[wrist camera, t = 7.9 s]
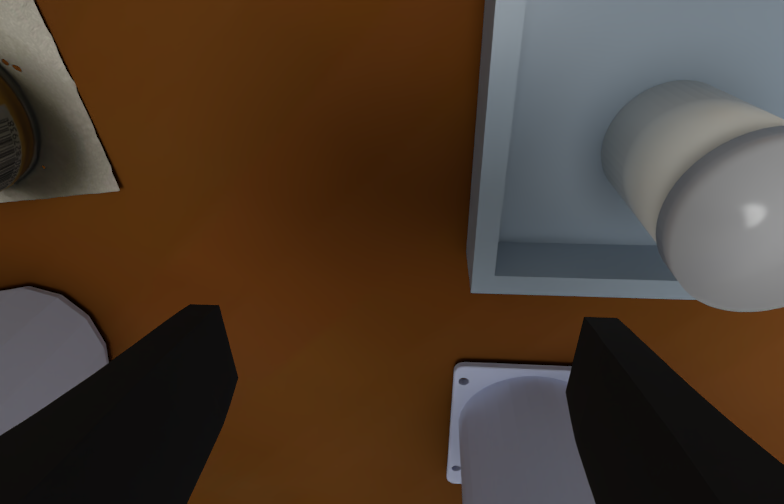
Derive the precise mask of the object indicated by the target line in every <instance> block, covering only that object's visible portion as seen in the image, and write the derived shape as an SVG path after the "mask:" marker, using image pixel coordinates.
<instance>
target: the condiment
mask: <svg viewBox="0 0 784 504" xmlns="http://www.w3.org/2000/svg"><path fill="white" fill-rule="evenodd" d="M1 59H5V60H6V61H7V62H8V63H9V65H8V66H7V65H5V64H4V63H3V62H2V60H1ZM13 64H14V65H16V66H18V67H20V68H21V70H22V72H20V71H17V70H15V69H14V68H13V67H12V65H13ZM42 166H45V167H46V168H45V169H43V168H42ZM113 191H120V190H119V187H118V185H117V182H116V180H115V178H114V176H113V174H112V169H111V165H110V163H109V162H108V160H107V157H106V155H105V152H104V150H103V148H102V145H101V143H100V141H99V139H98V138H97V135H96V132H95V129H94V127H93V124H92V122H91V120H90V118H89V116H88V114H87V111H86V109H85V107H84V105H83V103H82V101H81V99H80V97H79V95H78V92H77V89H76V85H75V82H74V81H73V80H72V79H71V77H70V75H69V73H68V72H67V70H66V68H65V66H64V64H63V62H62V60H61V58H60V56H59V53H58V50H57V48H56V45H55V43H54V41H53V38H52V36H51V34H50V33H49V31H48V30H47V28H46V26H45V24H44V22H43V20H42V18H41V16H40V13H39V11H38V9H37V7H36V5H35V3H34V1H33V0H0V203H2V202H11V201H20V200H35V199H49V198H54V197H63V196H71V195H81V194H94V193H104V192H113Z"/></svg>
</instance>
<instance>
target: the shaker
mask: <svg viewBox="0 0 784 504" xmlns="http://www.w3.org/2000/svg"><path fill="white" fill-rule="evenodd" d="M601 162H602V167H603V171H604V173H605V175H606V177H607V179H608V181H609V182H610V183H611V185H612V186H613V187H614V189H615V190H616V191H617V193H618V194H619V195H620V196H621V198H622V199H623V200H624V202H625V203H626V204H627V206H628V207H629V208H630V209H631V211H632V212H633V213H634V215H635V216H636V217H637V218H638V220H639V221H640V222H641V224H642V225H643V226H644V228H645V229H646V230H647V231H648V233H649V234H650V235H651V237H652V238H653V239H654V241H655V242H656V244H657V248H658V251H659V254H660V256H661V258H662V260H663V262H664V263H665V264H666V266H667V267H668V268H669V270H670V271H671V272H672V274H673V275H674V276H675V278H676V279H677V280H678V282H679V283H680V284H681V286H682V287H683V289H684V290H685V291H687V292H688V293H689V294H690V295H691V296H692V297H694V298H695V299H697V300H698V301H700V302H702V303H704V304H706V305H708V306H711V307H714V308H717V309H722V310H727V311H736V312H757V311H766V310H772V309H777V308H781V307H784V119H782V118H780V117H778V116H775V115H773V114H771V113H769V112H767V111H765V110H763V109H760V108H758V107H756V106H754V105H752V104H750V103H747V102H745V101H743V100H741V99H739V98H737V97H735V96H732V95H730V94H728V93H726V92H724V91H722V90H719V89H717V88H715V87H713V86H711V85H708V84H706V83H703V82H699V81H693V80H677V81H671V82H666V83H663V84H660V85H657V86H654V87H652V88H650V89H648V90H646V91H644V92H642V93H641V94H639V95H638V96H636V97H635V98H633V99H632V100H631V101H630V102H629V103H627V104H626V105H625V106H624V107H623V108H622V109H621V110H620V111H619V113H618V114H617V115H616V116H615V118H614V119H613V121H612V122H611V124H610V126H609V127H608V129H607V132H606V134H605V136H604V140H603V143H602V149H601Z"/></svg>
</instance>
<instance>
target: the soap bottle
mask: <svg viewBox="0 0 784 504" xmlns="http://www.w3.org/2000/svg"><path fill="white" fill-rule="evenodd" d="M108 363H109V361H108V355H107V348H106V343H105V341H104V340H103V338H102V336H101V335H100V333H99V332H98V330H97V328H96V327H95V325H94V323H93V322H92V320H91V318H90V317H89V315H88V314H86V313H85V312H84V311H82V310H81V309H80V308H78V307H77V306H76V305H74V304H73V303H72V302H71V301H69V300H68V299H67V298H65V297H64V296H63V295H61V294H57V293H53V292H50V291H46V290H42V289H38V288H35V287H31V286H26V287H20V288H14V289H8V290H2V291H0V435H2V434H3V433H5V432H7V431H8V430H10V429H11V428H13V427H15V426H16V425H18V424H19V423H21V422H23V421H24V420H26V419H27V418H29V417H30V416H32V415H34V414H35V413H37V412H38V411H39V410H41V409H42V408H44V407H45V406H47V405H48V404H50V403H51V402H53V401H54V400H56V399H57V398H59V397H60V396H62V395H63V394H65V393H66V392H68V391H69V390H71V389H72V388H73V387H75V386H76V385H78V384H79V383H81V382H82V381H84V380H85V379H87V378H88V377H90V376H91V375H93V374H94V373H95V372H97V371H98V370H100V369H101V368H102V367H104V366H105V365H106V364H108Z"/></svg>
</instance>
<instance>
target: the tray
mask: <svg viewBox="0 0 784 504" xmlns="http://www.w3.org/2000/svg"><path fill="white" fill-rule="evenodd" d="M677 80H693V81H699V82H703V83H706V84H708V85H711V86H713V87H715V88H717V89H719V90H722V91H724V92H726V93H728V94H730V95H732V96H735V97H737V98H739V99H741V100H743V101H745V102H747V103H750V104H752V105H754V106H756V107H758V108H760V109H763V110H765V111H767V112H769V113H771V114H773V115H775V116H778V117H780V118H782V119H784V0H485V7H484V21H483V34H482V47H481V61H480V74H479V87H478V101H477V114H476V127H475V141H474V154H473V167H472V181H471V194H470V207H469V221H468V234H467V247H466V255H467V263H468V272H469V281H470V290H471V293H488V294H521V295H554V296H587V297H620V298H653V299H686V300H697V299H695V298H694V297H692V296H691V295H690V294H689V293H688V292H687V291H685V290H684V289H683V287H682V286H681V284H680V283H679V282H678V280H677V279H676V278H675V276H674V275H673V274H672V272H671V271H670V270H669V268H668V267H667V266H666V264H665V263H664V262H663V260H662V258H661V256H660V254H659V251H658V248H657V244H656V242H655V241H654V239H653V238H652V237H651V235H650V234H649V233H648V231H647V230H646V229H645V228H644V226H643V225H642V224H641V222H640V221H639V220H638V218H637V217H636V216H635V215H634V213H633V212H632V211H631V209H630V208H629V207H628V206H627V204H626V203H625V202H624V200H623V199H622V198H621V196H620V195H619V194H618V193H617V191H616V190H615V189H614V187H613V186H612V185H611V183H610V182H609V181H608V179H607V177H606V175H605V173H604V171H603V167H602V162H601V149H602V143H603V140H604V136H605V134H606V132H607V129H608V127H609V126H610V124H611V122H612V121H613V119H614V118H615V116H616V115H617V114H618V113H619V111H620V110H621V109H622V108H623V107H624V106H625V105H626V104H627V103H629V102H630V101H631V100H632V99H633V98H635V97H636V96H638V95H639V94H641V93H642V92H644V91H646V90H648V89H650V88H652V87H654V86H657V85H660V84H663V83H666V82H671V81H677Z"/></svg>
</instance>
